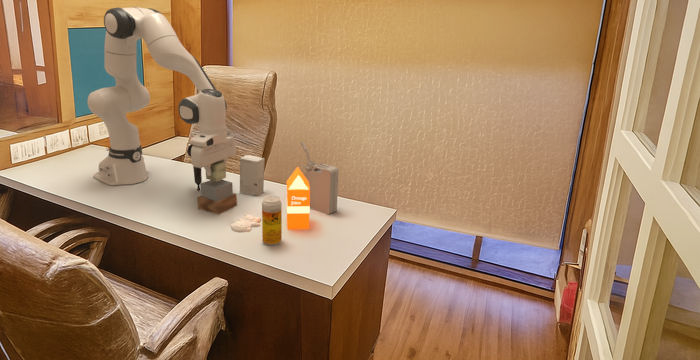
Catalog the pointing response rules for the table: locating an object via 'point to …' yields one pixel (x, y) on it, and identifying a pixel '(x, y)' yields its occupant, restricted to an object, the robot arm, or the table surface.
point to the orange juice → (298, 201)
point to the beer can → (271, 220)
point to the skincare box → (251, 175)
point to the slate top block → (216, 189)
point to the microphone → (196, 171)
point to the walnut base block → (217, 204)
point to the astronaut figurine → (245, 223)
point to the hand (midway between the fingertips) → (215, 172)
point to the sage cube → (217, 171)
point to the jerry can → (321, 185)
